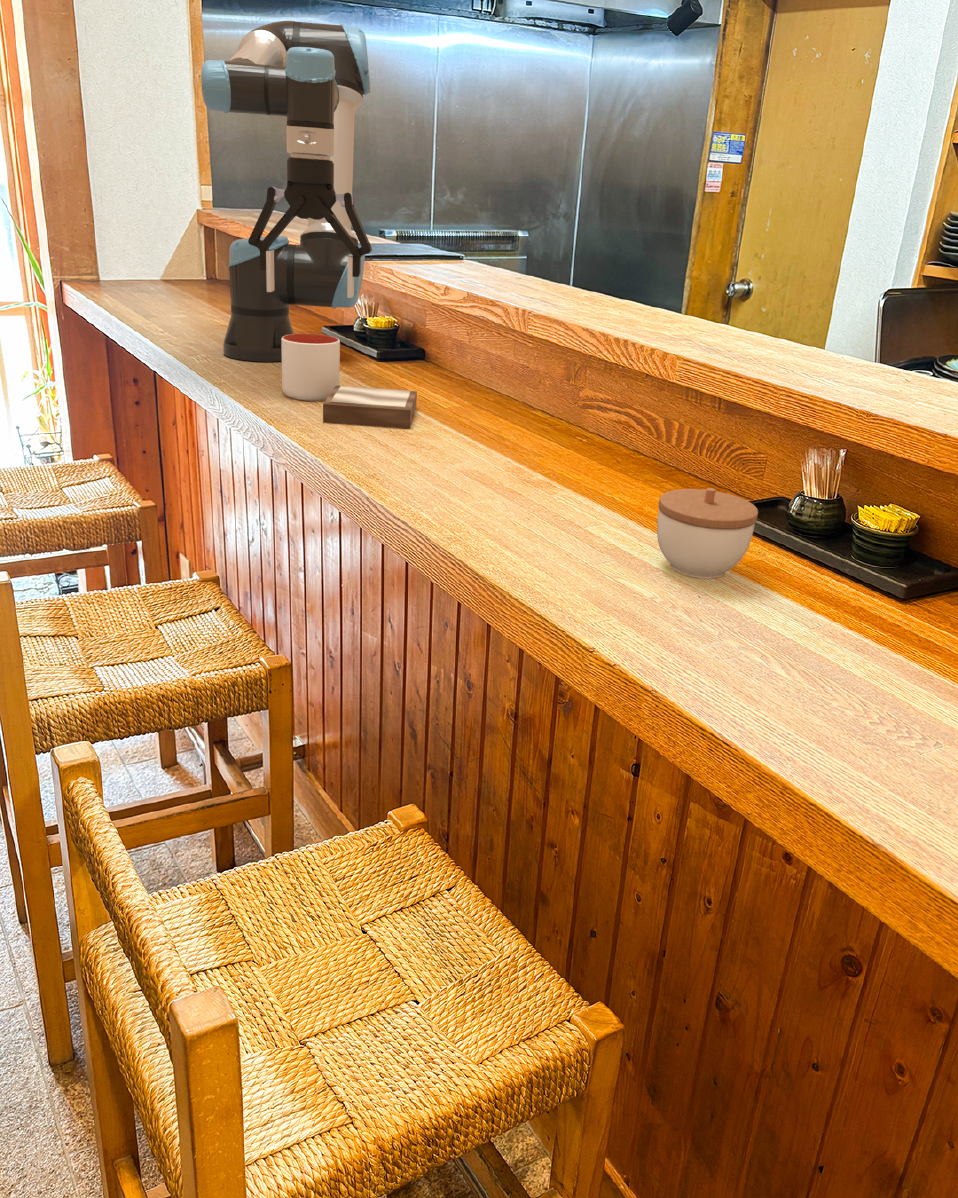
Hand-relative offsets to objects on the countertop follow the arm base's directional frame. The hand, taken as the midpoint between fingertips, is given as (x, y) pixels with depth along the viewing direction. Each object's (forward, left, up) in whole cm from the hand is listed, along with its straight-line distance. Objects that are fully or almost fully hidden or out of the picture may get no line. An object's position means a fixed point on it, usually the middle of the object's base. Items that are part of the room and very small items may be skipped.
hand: (310, 294), depth 166 cm
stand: (+11, +12, -17) cm, 24 cm away
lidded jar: (+70, +56, -18) cm, 91 cm away
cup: (0, 0, -18) cm, 18 cm away
